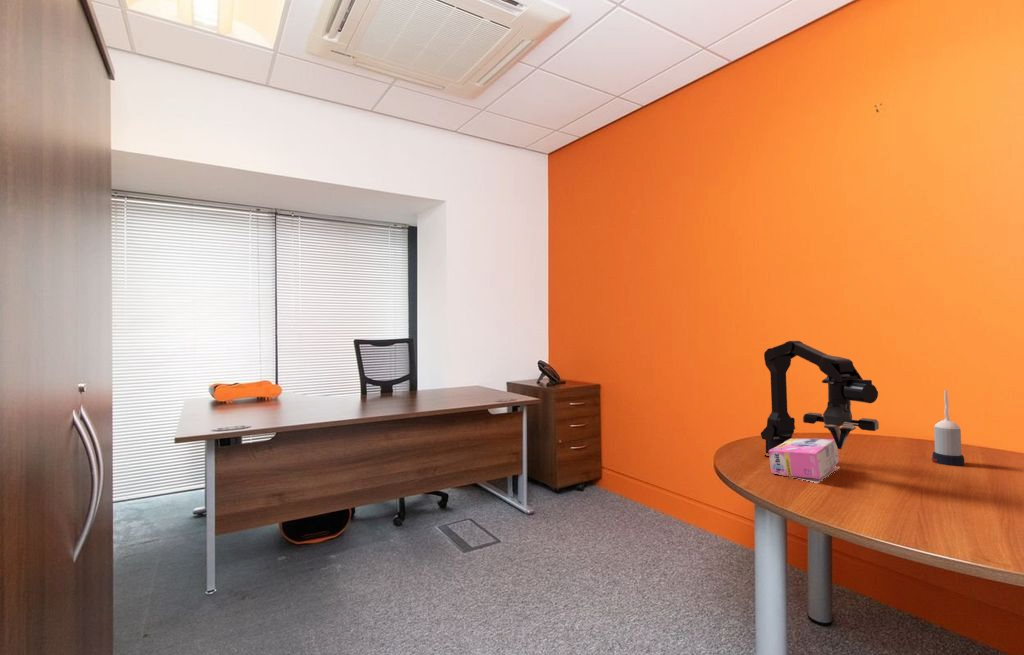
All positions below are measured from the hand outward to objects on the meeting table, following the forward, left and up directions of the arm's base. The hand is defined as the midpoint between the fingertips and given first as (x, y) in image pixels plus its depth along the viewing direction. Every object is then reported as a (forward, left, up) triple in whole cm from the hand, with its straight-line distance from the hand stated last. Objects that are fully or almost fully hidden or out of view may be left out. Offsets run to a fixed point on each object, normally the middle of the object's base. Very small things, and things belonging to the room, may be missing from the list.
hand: (839, 448), depth 146 cm
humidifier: (+20, +47, -9) cm, 52 cm away
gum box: (-2, -1, -3) cm, 4 cm away
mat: (-8, 0, -9) cm, 12 cm away
